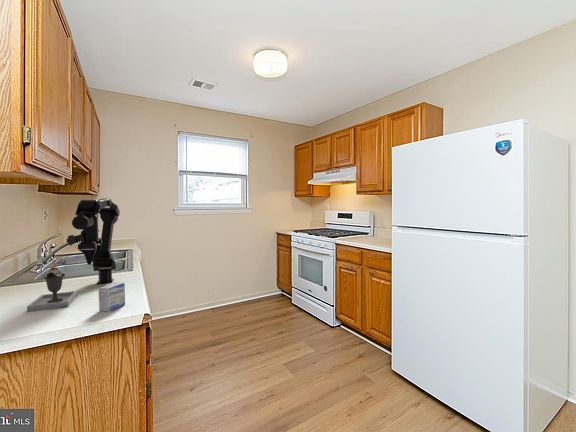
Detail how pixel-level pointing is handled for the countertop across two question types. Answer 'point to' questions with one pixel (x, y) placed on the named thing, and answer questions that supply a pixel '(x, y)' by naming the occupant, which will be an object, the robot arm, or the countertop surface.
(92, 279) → the countertop surface
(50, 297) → the tray
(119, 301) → the medicine box
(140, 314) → the countertop surface
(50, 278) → the sundae
